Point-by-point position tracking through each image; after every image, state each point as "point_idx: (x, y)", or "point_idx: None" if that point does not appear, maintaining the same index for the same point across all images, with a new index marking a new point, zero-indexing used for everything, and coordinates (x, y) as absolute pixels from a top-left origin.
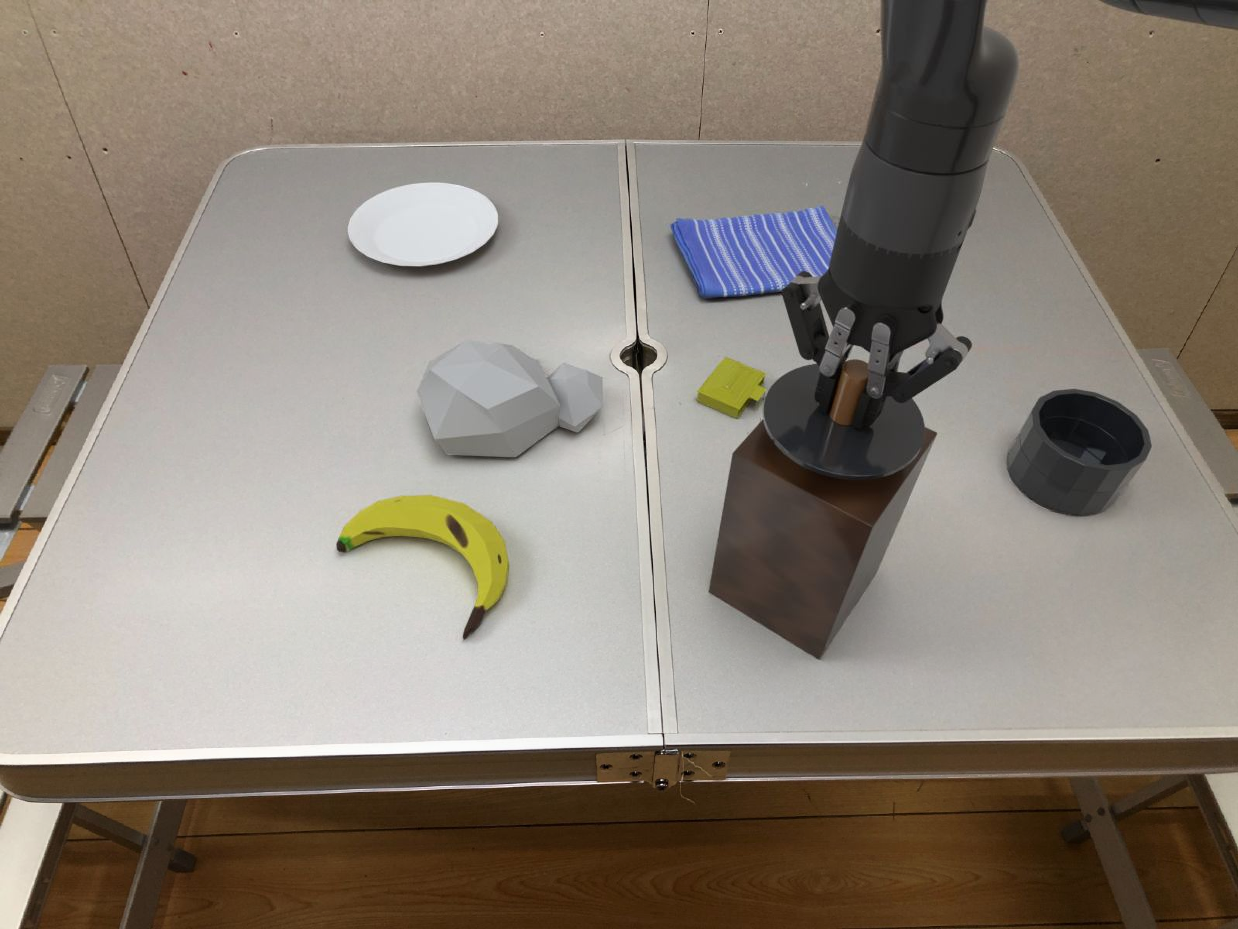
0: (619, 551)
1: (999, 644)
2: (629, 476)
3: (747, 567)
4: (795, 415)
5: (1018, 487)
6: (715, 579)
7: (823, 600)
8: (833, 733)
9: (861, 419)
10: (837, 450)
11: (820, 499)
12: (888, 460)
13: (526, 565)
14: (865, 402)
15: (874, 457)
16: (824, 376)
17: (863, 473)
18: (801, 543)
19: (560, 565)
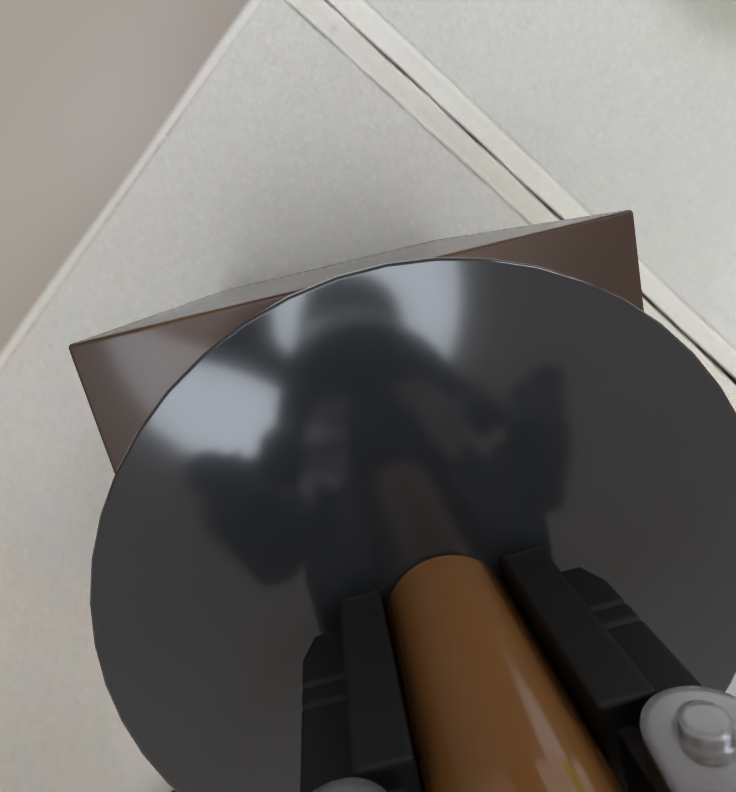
0: (602, 174)
1: (68, 538)
2: (702, 306)
3: (395, 252)
4: (587, 453)
5: None
6: (437, 240)
7: (224, 294)
8: (111, 206)
9: (348, 634)
10: (328, 443)
11: (274, 298)
12: (148, 569)
13: (701, 9)
14: (366, 720)
15: (195, 535)
16: (663, 685)
17: (157, 429)
18: (299, 280)
19: (656, 62)
